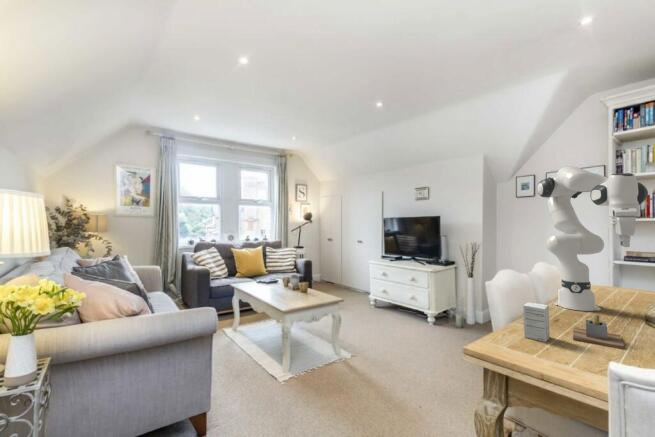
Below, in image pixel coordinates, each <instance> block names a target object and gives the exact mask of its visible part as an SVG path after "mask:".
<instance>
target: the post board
mask: <svg viewBox="0 0 655 437" xmlns="http://www.w3.org/2000/svg"><path fill="white" fill-rule="evenodd" d="M591 318H592V321H593V324H598V325H600V322H601V321H600V314H599V315H598V314H592V317H591ZM572 331H573V332H572V340H573V341H576V342H577V341H578V342H583V343H588V344H594V345H600V346H604V347H610V348H614V349H616V348H617V349H621V350H625V345H624V342H623V340H622V338H621V335H620V334H616V333H609V332H607V336H608V340H603V339H597V338H592V337H586V328H585V329H584V328H578V327H573V328H572Z"/></svg>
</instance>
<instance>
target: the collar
mask: <svg viewBox="0 0 655 437" xmlns="http://www.w3.org/2000/svg"><path fill="white" fill-rule="evenodd" d="M585 330H586V337H592V338H597V339H603V340H608V336H607V333H608V325H607V322H603V321H600V325H598V324H593V320H590V319H585Z"/></svg>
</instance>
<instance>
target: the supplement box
mask: <svg viewBox="0 0 655 437" xmlns="http://www.w3.org/2000/svg"><path fill="white" fill-rule="evenodd" d="M522 308H523V332H524V333H523V336H524V338H526V339H531V340H536V341H540V342H544V343H547V342H548V340H549V338H550V335H551V334H550V312H549V310H550V309H549V305H548V304H544V303H535V302H529V301H527V302H526V303H525V304H524V305H523V307H522Z"/></svg>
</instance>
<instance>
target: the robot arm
mask: <svg viewBox="0 0 655 437" xmlns="http://www.w3.org/2000/svg"><path fill="white" fill-rule="evenodd" d="M536 190H537V194H538V195H539V196H540V198H546V199H547V198H548V200H547V208H548V212H549V216H550V218H551V221H552V224H553V227H554V228H555V229H556V230H557V231H559V232H561V233H559V234H558V233H557V234H554V235H553V234H552V235H550V236H549V237H548V238H547V240H546V247H547V250H548V251H549V252H550V253H551V254H552V255H555V257H556V258H557V260H558V261H559V263H560V266H561V274H562V279H561V282H560V283H561V288H559V289H558V291H557V294H558V295H557V296H558V298H557V299H558V300H557V301H554V303H553V304H554V306H557V305H558V306H559V307H562V308H565V309H568V310H575V311H580V312H581V311H583V312H585V311H586V312H592V311H599V312H600V311H601V308H600V307H599V306H598V305H596V294H595V293H594V292H593V291H592V288H591V286H592V284H591V281H590V268H589V266H588V265H587V264H586V263H584V262H582V261H581V260H579V258H578V256H579V255H595V254H599V253H601V252H602V251H603V250H604V248H605V242H604V239H603V238H602V237H601V236H600V235H597V234H595V233H593V232H592V231H590V230H589V229H587V228H586V227H585V226H584V225H583V224H582V222H581V221H580V220H579V218H578V216H577V214H576V211H575V209H574V206H573V204H572V203H571V202H572V201H571V200H572V199H577V198H578V196H580V195H581V194H583V192H590V199H591V201H592V203H594V204H595V205H596V206H600V207H601V206H605V207H606V206H608V217H609V218H611V217H612V221H615V234H616V235H618V237H619V246H621V247H624V248H629V247H630V246H631V245H630V243H631V236H634V235H635V231H636V221H637V217H640V205H642V203H644V202H645V201H646V200H647V198H648V197H649V191H648V188H647V187H646V186H645V185H644V184H642V183H641V182H638V179H637V176H636V174H634V173H631V172H626V173H624V172H623V173H622V172H621V173H612V174H610V175H609V176H604V175H601V174H598V173H594V172H591V171H588V170H586V169H583V168H580V167H577V166H568V165H567V166H563V167H561V168H560V169H559V170H558V171H557V172H556V176H555V177H550V176H549V177H547V178H544V179H542V180H540V181H539V182H538V184H537V189H536Z"/></svg>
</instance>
